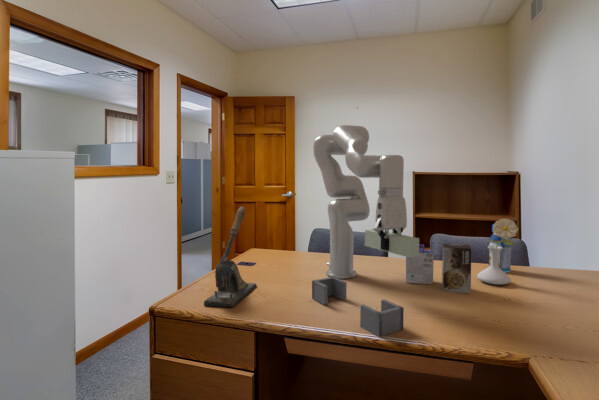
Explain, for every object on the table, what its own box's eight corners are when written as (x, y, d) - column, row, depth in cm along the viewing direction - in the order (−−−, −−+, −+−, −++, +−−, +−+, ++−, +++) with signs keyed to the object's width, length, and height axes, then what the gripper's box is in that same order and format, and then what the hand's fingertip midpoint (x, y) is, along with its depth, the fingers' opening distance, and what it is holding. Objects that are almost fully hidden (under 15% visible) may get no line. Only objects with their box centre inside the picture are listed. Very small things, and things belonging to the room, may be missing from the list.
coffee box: (468, 288, 127) (469, 244, 125) (470, 294, 121) (472, 248, 119) (441, 285, 130) (442, 243, 128) (442, 291, 123) (443, 246, 122)
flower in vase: (472, 282, 133) (475, 218, 131) (481, 276, 141) (484, 215, 139) (512, 290, 124) (515, 221, 122) (519, 283, 132) (522, 218, 130)
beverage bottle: (511, 274, 144) (513, 226, 142) (487, 271, 148) (489, 225, 146) (510, 269, 151) (512, 224, 149) (488, 267, 155) (490, 222, 154)
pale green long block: (364, 245, 121) (365, 230, 121) (373, 244, 123) (373, 229, 123) (409, 257, 104) (410, 239, 104) (418, 256, 106) (419, 238, 106)
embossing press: (200, 306, 110) (198, 212, 108) (233, 283, 133) (232, 205, 131) (232, 309, 108) (230, 213, 105) (260, 285, 130) (259, 206, 128)
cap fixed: (360, 326, 95) (360, 305, 95) (384, 319, 99) (384, 299, 99) (378, 337, 89) (379, 314, 88) (403, 329, 93) (403, 307, 93)
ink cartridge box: (431, 280, 136) (432, 243, 135) (433, 284, 131) (434, 246, 129) (405, 279, 138) (405, 243, 137) (406, 283, 133) (407, 245, 131)
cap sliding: (312, 298, 116) (312, 280, 116) (333, 293, 121) (333, 276, 120) (324, 305, 110) (324, 286, 110) (346, 299, 115) (346, 282, 114)
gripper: (380, 194, 105) (379, 254, 106) (417, 193, 114) (416, 248, 115) (363, 193, 111) (362, 250, 113) (400, 192, 120) (399, 244, 121)
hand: (390, 248), depth 114 cm, fingers closed on pale green long block, 4 cm apart
